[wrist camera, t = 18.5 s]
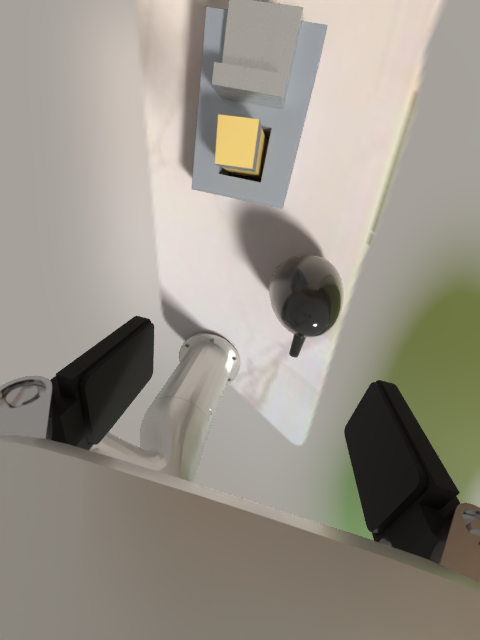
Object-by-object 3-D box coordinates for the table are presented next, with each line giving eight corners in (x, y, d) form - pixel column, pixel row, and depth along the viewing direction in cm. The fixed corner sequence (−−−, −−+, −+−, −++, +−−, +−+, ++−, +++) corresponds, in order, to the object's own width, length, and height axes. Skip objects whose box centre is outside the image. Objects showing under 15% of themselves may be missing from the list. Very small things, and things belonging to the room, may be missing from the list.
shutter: (282, 108, 26) (282, 96, 23) (220, 97, 26) (211, 84, 23) (302, 13, 22) (304, -15, 19) (231, 3, 23) (222, -27, 20)
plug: (262, 178, 33) (252, 169, 24) (233, 174, 34) (214, 163, 25) (267, 142, 31) (259, 118, 22) (237, 139, 32) (217, 113, 23)
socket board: (283, 208, 34) (282, 208, 30) (203, 191, 35) (191, 189, 31) (321, 54, 27) (327, 24, 22) (219, 38, 28) (206, 6, 23)
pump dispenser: (263, 301, 41) (250, 349, 28) (283, 241, 36) (279, 263, 23) (320, 319, 41) (335, 376, 27) (348, 261, 36) (383, 295, 22)
